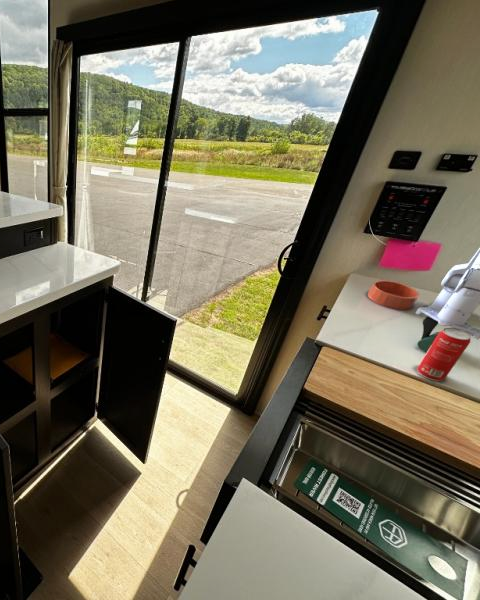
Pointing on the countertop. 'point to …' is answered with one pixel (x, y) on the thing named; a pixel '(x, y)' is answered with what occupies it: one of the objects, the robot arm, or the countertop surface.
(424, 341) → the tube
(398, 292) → the bowl
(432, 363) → the beverage can
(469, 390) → the countertop surface
